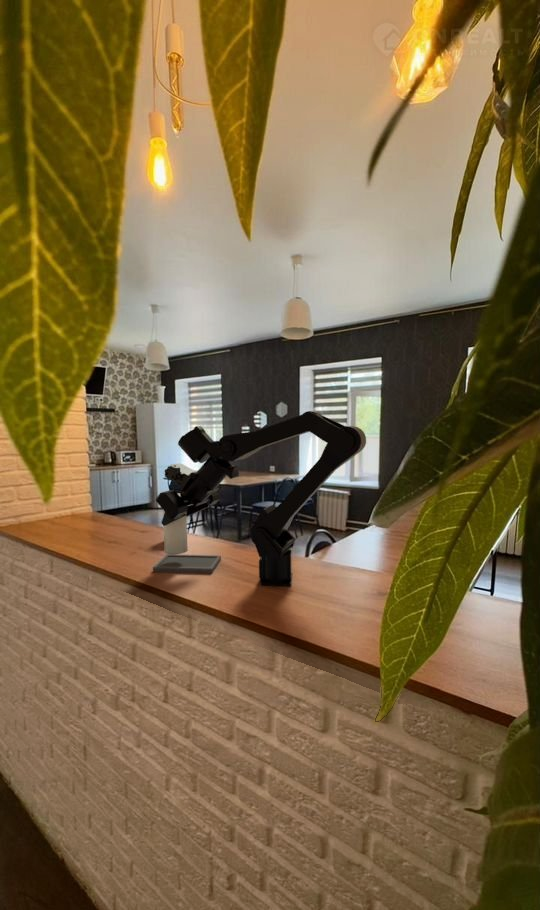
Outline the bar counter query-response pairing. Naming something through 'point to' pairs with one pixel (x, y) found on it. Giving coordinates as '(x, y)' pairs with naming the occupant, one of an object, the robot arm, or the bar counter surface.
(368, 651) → the bar counter surface
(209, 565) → the bar mat
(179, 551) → the tumbler
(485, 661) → the bar counter surface
